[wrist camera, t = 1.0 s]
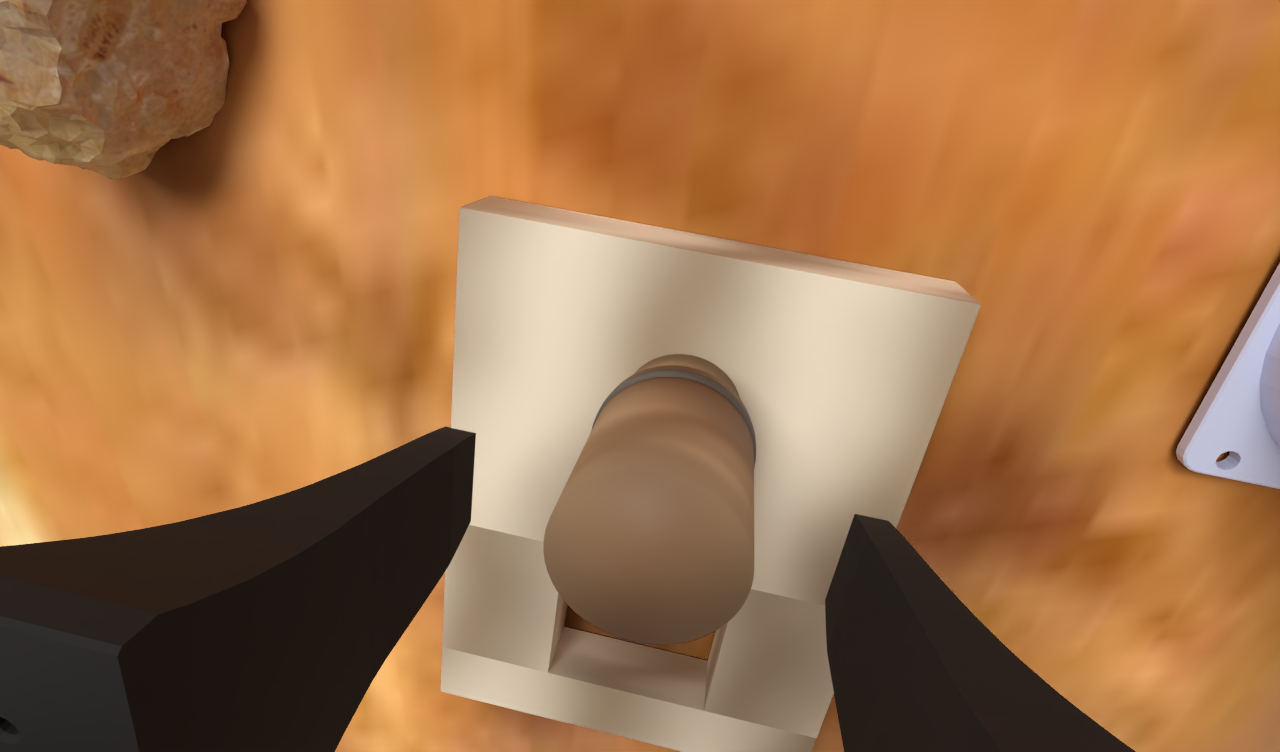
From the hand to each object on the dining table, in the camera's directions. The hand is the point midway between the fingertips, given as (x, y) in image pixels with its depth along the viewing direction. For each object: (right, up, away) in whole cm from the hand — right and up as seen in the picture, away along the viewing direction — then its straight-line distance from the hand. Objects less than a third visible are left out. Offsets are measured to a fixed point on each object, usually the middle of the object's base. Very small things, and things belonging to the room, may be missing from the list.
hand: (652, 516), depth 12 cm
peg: (+1, +2, +4) cm, 5 cm away
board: (0, -1, +8) cm, 8 cm away
